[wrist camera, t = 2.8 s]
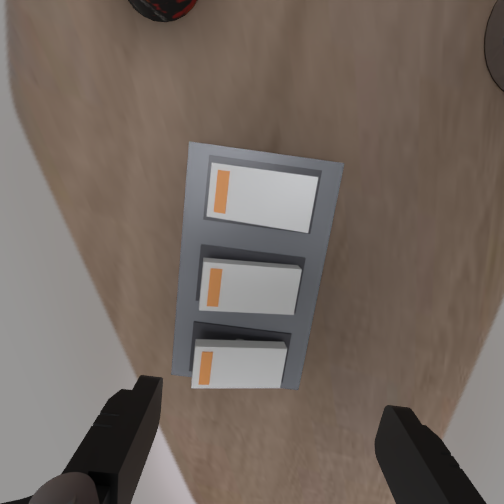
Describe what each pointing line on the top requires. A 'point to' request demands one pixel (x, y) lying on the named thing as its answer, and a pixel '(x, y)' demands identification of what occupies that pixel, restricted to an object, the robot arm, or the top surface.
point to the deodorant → (163, 8)
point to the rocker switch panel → (250, 257)
